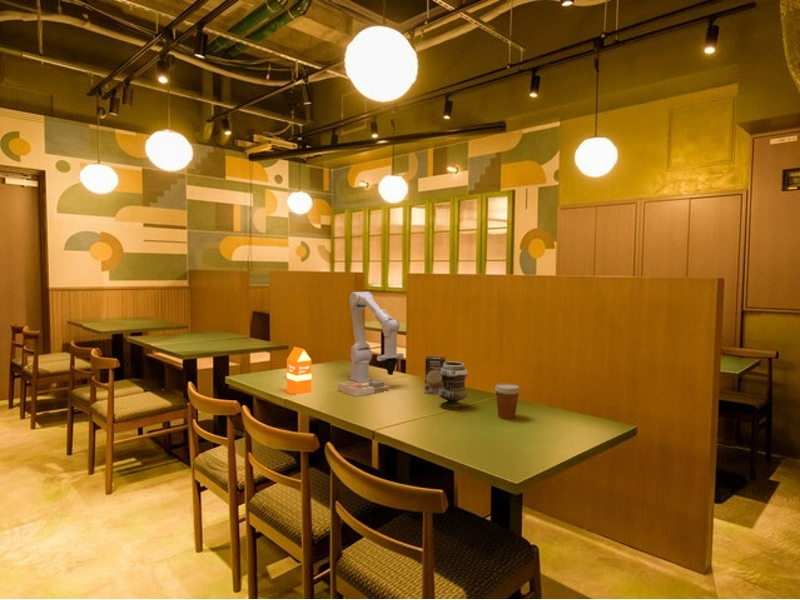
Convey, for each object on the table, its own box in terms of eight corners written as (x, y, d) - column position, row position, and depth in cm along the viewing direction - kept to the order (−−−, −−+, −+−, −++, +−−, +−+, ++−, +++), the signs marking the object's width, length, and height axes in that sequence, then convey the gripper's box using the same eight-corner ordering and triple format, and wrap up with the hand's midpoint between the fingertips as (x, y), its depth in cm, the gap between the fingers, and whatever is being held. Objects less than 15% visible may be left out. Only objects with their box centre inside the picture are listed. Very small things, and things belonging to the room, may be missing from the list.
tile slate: (368, 385, 236) (368, 381, 236) (377, 384, 239) (377, 380, 239) (375, 388, 232) (375, 383, 232) (384, 386, 235) (384, 382, 235)
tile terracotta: (347, 388, 236) (347, 384, 236) (355, 386, 240) (356, 382, 240) (353, 390, 233) (353, 386, 233) (362, 388, 236) (362, 384, 236)
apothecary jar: (455, 412, 203) (456, 367, 202) (431, 406, 211) (432, 362, 210) (473, 406, 212) (474, 363, 211) (449, 400, 220) (450, 359, 219)
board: (355, 387, 242) (355, 382, 242) (369, 384, 247) (369, 380, 247) (374, 393, 230) (374, 389, 230) (388, 390, 235) (388, 386, 235)
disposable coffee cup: (489, 414, 200) (490, 384, 200) (509, 412, 204) (510, 382, 203) (503, 421, 192) (504, 389, 191) (524, 418, 196) (525, 387, 195)
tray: (337, 390, 235) (337, 382, 235) (354, 387, 241) (355, 379, 241) (356, 397, 224) (356, 389, 224) (374, 393, 230) (374, 386, 230)
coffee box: (423, 393, 231) (424, 358, 230) (424, 390, 238) (425, 355, 237) (444, 394, 230) (445, 359, 229) (444, 391, 237) (445, 356, 236)
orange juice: (296, 394, 226) (296, 349, 225) (286, 391, 233) (286, 347, 231) (311, 392, 231) (311, 348, 230) (301, 388, 238) (301, 345, 236)
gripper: (383, 348, 232) (383, 378, 233) (407, 345, 241) (407, 373, 242) (374, 346, 237) (374, 375, 238) (398, 343, 247) (398, 371, 248)
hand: (390, 374), depth 241 cm, fingers closed
